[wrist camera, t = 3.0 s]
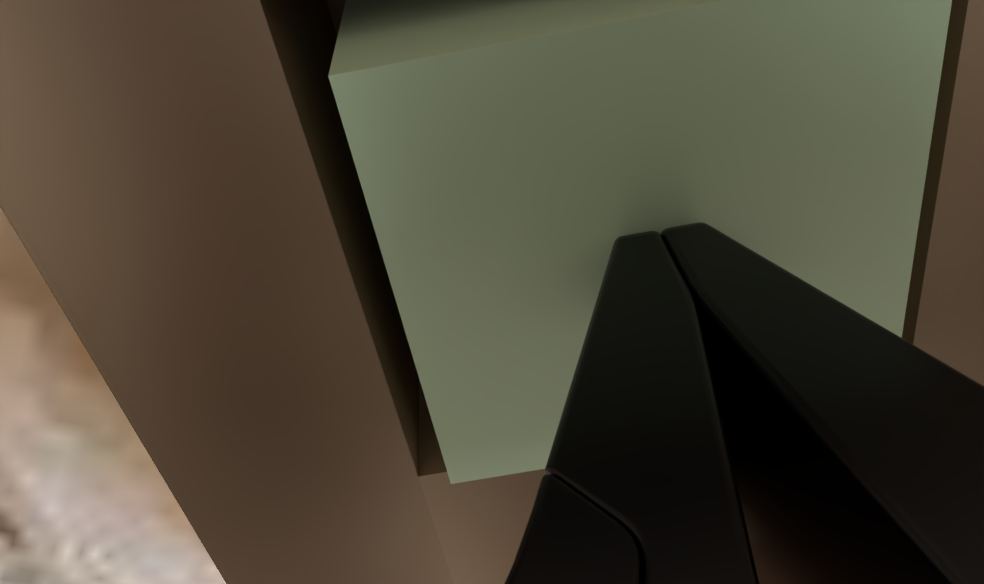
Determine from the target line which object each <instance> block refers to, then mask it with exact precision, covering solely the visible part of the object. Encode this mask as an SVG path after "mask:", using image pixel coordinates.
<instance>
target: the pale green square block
mask: <svg viewBox="0 0 984 584" xmlns="http://www.w3.org/2000/svg"><path fill="white" fill-rule="evenodd" d="M951 5H952V0H346V2H345V6H344V10H343V15H342V19H341V23H340V28H339V32H338V36H337V40H336V45H335V49H334V53H333V58H332V62H331V66H330V71H329V75H328V77H329V80H330V84H331V87H332V90H333V94H334V97H335V100H336V104H337V107H338V110H339V114H340V117H341V120H342V124H343V127H344V130H345V134H346V137H347V140H348V144H349V147H350V150H351V153H352V157H353V160H354V163H355V167H356V170H357V173H358V177H359V180H360V183H361V187H362V190H363V193H364V197H365V200H366V203H367V207H368V210H369V213H370V217H371V220H372V223H373V227H374V230H375V233H376V237H377V240H378V243H379V247H380V250H381V253H382V257H383V260H384V263H385V267H386V270H387V273H388V277H389V280H390V283H391V287H392V290H393V293H394V296H395V300H396V303H397V306H398V310H399V313H400V316H401V320H402V323H403V326H404V330H405V333H406V336H407V340H408V343H409V346H410V350H411V353H412V356H413V360H414V363H415V366H416V370H417V373H418V376H419V380H420V383H421V386H422V390H423V393H424V396H425V400H426V403H427V406H428V410H429V413H430V416H431V420H432V423H433V426H434V430H435V433H436V436H437V439H438V443H439V446H440V449H441V453H442V456H443V459H444V463H445V466H446V469H447V473H448V476H449V479H450V483H451V484H455V483H461V482H467V481H473V480H479V479H485V478H491V477H498V476H504V475H510V474H516V473H522V472H528V471H534V470H540V469H545V467H546V464H547V461H548V458H549V454H550V451H551V448H552V444H553V441H554V438H555V435H556V431H557V428H558V425H559V421H560V418H561V415H562V412H563V408H564V405H565V402H566V398H567V395H568V392H569V389H570V385H571V382H572V379H573V375H574V372H575V369H576V366H577V362H578V359H579V356H580V352H581V349H582V346H583V343H584V339H585V336H586V333H587V329H588V326H589V323H590V320H591V316H592V313H593V310H594V306H595V303H596V300H597V297H598V293H599V290H600V287H601V283H602V280H603V277H604V274H605V270H606V267H607V264H608V260H609V257H610V254H611V251H612V247H613V244H614V242H615V240H616V239H617V238H618V237H620V236H625V235H630V234H636V233H642V232H648V231H656V232H658V233H659V234H660V235H661V233H662V231H663V230H664V229H666V228H670V227H676V226H681V225H687V224H692V223H698V222H702V223H706V224H708V225H710V226H712V227H713V228H715V229H717V230H719V231H720V232H722V233H724V234H725V235H727V236H729V237H730V238H732V239H734V240H736V241H737V242H739V243H741V244H742V245H744V246H746V247H747V248H749V249H751V250H753V251H754V252H756V253H758V254H759V255H761V256H763V257H765V258H766V259H768V260H770V261H771V262H773V263H775V264H776V265H778V266H780V267H782V268H783V269H785V270H787V271H788V272H790V273H792V274H793V275H795V276H797V277H799V278H800V279H802V280H804V281H805V282H807V283H809V284H811V285H812V286H814V287H816V288H817V289H819V290H821V291H822V292H824V293H826V294H828V295H829V296H831V297H833V298H834V299H836V300H838V301H840V302H841V303H843V304H845V305H846V306H848V307H850V308H851V309H853V310H855V311H857V312H858V313H860V314H862V315H863V316H865V317H867V318H868V319H870V320H872V321H874V322H875V323H877V324H879V325H880V326H882V327H884V328H886V329H887V330H889V331H891V332H892V333H894V334H896V335H897V336H899V337H901V338H902V332H903V325H904V319H905V312H906V305H907V299H908V292H909V285H910V279H911V272H912V265H913V258H914V252H915V245H916V238H917V232H918V225H919V218H920V212H921V205H922V198H923V192H924V185H925V178H926V172H927V165H928V158H929V152H930V145H931V138H932V132H933V125H934V118H935V111H936V105H937V98H938V91H939V85H940V78H941V71H942V65H943V58H944V51H945V45H946V38H947V31H948V25H949V18H950V11H951Z"/></svg>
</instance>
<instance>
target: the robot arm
mask: <svg viewBox="0 0 984 584" xmlns="http://www.w3.org/2000/svg"><path fill="white" fill-rule="evenodd" d="M505 584H984V386H983V385H981V384H979V383H978V382H976V381H974V380H972V379H971V378H969V377H967V376H966V375H964V374H962V373H961V372H959V371H957V370H955V369H954V368H952V367H950V366H949V365H947V364H945V363H943V362H942V361H940V360H938V359H937V358H935V357H933V356H932V355H930V354H928V353H926V352H925V351H923V350H921V349H920V348H918V347H916V346H915V345H913V344H911V343H909V342H908V341H906V340H904V339H903V338H901V337H899V336H897V335H896V334H894V333H892V332H891V331H889V330H887V329H886V328H884V327H882V326H880V325H879V324H877V323H875V322H874V321H872V320H870V319H868V318H867V317H865V316H863V315H862V314H860V313H858V312H857V311H855V310H853V309H851V308H850V307H848V306H846V305H845V304H843V303H841V302H840V301H838V300H836V299H834V298H833V297H831V296H829V295H828V294H826V293H824V292H822V291H821V290H819V289H817V288H816V287H814V286H812V285H811V284H809V283H807V282H805V281H804V280H802V279H800V278H799V277H797V276H795V275H793V274H792V273H790V272H788V271H787V270H785V269H783V268H782V267H780V266H778V265H776V264H775V263H773V262H771V261H770V260H768V259H766V258H765V257H763V256H761V255H759V254H758V253H756V252H754V251H753V250H751V249H749V248H747V247H746V246H744V245H742V244H741V243H739V242H737V241H736V240H734V239H732V238H730V237H729V236H727V235H725V234H724V233H722V232H720V231H719V230H717V229H715V228H713V227H712V226H710V225H708V224H706V223H702V222H698V223H692V224H687V225H681V226H676V227H670V228H666V229H664V230H663V231H662V233H661V235H660V234H659V233H658V232H656V231H648V232H642V233H636V234H630V235H625V236H620V237H618V238H617V239H616V240H615V242H614V244H613V247H612V251H611V254H610V257H609V260H608V264H607V267H606V270H605V274H604V277H603V280H602V283H601V287H600V290H599V293H598V297H597V300H596V303H595V306H594V310H593V313H592V316H591V320H590V323H589V326H588V329H587V333H586V336H585V339H584V343H583V346H582V349H581V352H580V356H579V359H578V362H577V366H576V369H575V372H574V375H573V379H572V382H571V385H570V389H569V392H568V395H567V398H566V402H565V405H564V408H563V412H562V415H561V418H560V421H559V425H558V428H557V431H556V435H555V438H554V441H553V444H552V448H551V451H550V454H549V458H548V461H547V464H546V467H545V475H544V476H543V477H542V479H541V482H540V485H539V489H538V492H537V495H536V498H535V502H534V505H533V508H532V512H531V514H530V517H529V520H528V523H527V526H526V529H525V531H524V534H523V537H522V540H521V543H520V546H519V549H518V551H517V554H516V557H515V560H514V563H513V565H512V567H511V570H510V572H509V574H508V577H507V579H506V581H505Z"/></svg>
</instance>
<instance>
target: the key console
mask: <svg viewBox="0 0 984 584" xmlns="http://www.w3.org/2000/svg"><path fill="white" fill-rule="evenodd" d="M345 2H346V0H0V206H1V208H2V210H3V211H4V213H5V215H6V216H7V218H8V220H9V221H10V223H11V225H12V226H13V228H14V230H15V231H16V233H17V235H18V236H19V238H20V240H21V241H22V243H23V245H24V246H25V248H26V250H27V251H28V253H29V255H30V256H31V258H32V260H33V261H34V263H35V265H36V266H37V268H38V270H39V271H40V273H41V275H42V276H43V278H44V280H45V281H46V283H47V285H48V286H49V288H50V290H51V291H52V293H53V295H54V296H55V298H56V300H57V301H58V303H59V305H60V306H61V308H62V310H63V311H64V313H65V315H66V316H67V318H68V320H69V321H70V323H71V325H72V326H73V328H74V330H75V332H76V333H77V335H78V337H79V338H80V340H81V342H82V343H83V345H84V347H85V348H86V350H87V352H88V353H89V355H90V357H91V358H92V360H93V362H94V363H95V365H96V367H97V368H98V370H99V372H100V373H101V375H102V377H103V378H104V380H105V382H106V383H107V385H108V387H109V388H110V390H111V392H112V393H113V395H114V397H115V398H116V400H117V402H118V403H119V405H120V407H121V408H122V410H123V412H124V413H125V415H126V417H127V418H128V420H129V422H130V423H131V425H132V427H133V428H134V430H135V432H136V433H137V435H138V437H139V438H140V440H141V442H142V443H143V445H144V447H145V448H146V450H147V452H148V453H149V455H150V457H151V458H152V460H153V462H154V463H155V465H156V467H157V468H158V470H159V472H160V473H161V475H162V477H163V478H164V480H165V482H166V483H167V485H168V487H169V488H170V490H171V492H172V493H173V495H174V497H175V498H176V500H177V502H178V503H179V505H180V507H181V508H182V510H183V512H184V513H185V515H186V517H187V518H188V520H189V522H190V524H191V525H192V527H193V529H194V530H195V532H196V534H197V535H198V537H199V539H200V540H201V542H202V544H203V545H204V547H205V549H206V550H207V552H208V554H209V555H210V557H211V559H212V560H213V562H214V564H215V565H216V567H217V569H218V570H219V572H220V574H221V575H222V577H223V579H224V580H225V582H226V584H505V581H506V579H507V577H508V574H509V572H510V570H511V567H512V565H513V563H514V560H515V557H516V554H517V551H518V549H519V546H520V543H521V540H522V537H523V534H524V531H525V529H526V526H527V523H528V520H529V517H530V514H531V512H532V508H533V505H534V502H535V498H536V495H537V492H538V489H539V485H540V482H541V479H542V477H543V476H544V475H545V469H540V470H534V471H528V472H522V473H516V474H510V475H504V476H498V477H491V478H485V479H479V480H473V481H467V482H461V483H455V484H451V483H450V479H449V476H448V473H447V469H446V466H445V463H444V459H443V456H442V453H441V449H440V446H439V443H438V439H437V436H436V433H435V430H434V426H433V423H432V420H431V416H430V413H429V410H428V406H427V403H426V400H425V396H424V393H423V390H422V386H421V383H420V380H419V376H418V373H417V370H416V366H415V363H414V360H413V356H412V353H411V350H410V346H409V343H408V340H407V336H406V333H405V330H404V326H403V323H402V320H401V316H400V313H399V310H398V306H397V303H396V300H395V296H394V293H393V290H392V287H391V283H390V280H389V277H388V273H387V270H386V267H385V263H384V260H383V257H382V253H381V250H380V247H379V243H378V240H377V237H376V233H375V230H374V227H373V223H372V220H371V217H370V213H369V210H368V207H367V203H366V200H365V197H364V193H363V190H362V187H361V183H360V180H359V177H358V173H357V170H356V167H355V163H354V160H353V157H352V153H351V150H350V147H349V144H348V140H347V137H346V134H345V130H344V127H343V124H342V120H341V117H340V114H339V110H338V107H337V104H336V100H335V97H334V94H333V90H332V87H331V84H330V80H329V77H328V75H329V71H330V66H331V62H332V58H333V53H334V49H335V45H336V40H337V36H338V32H339V28H340V23H341V19H342V15H343V10H344V6H345ZM902 338H903V339H904V340H906V341H908V342H909V343H911V344H913V345H915V346H916V347H918V348H920V349H921V350H923V351H925V352H926V353H928V354H930V355H932V356H933V357H935V358H937V359H938V360H940V361H942V362H943V363H945V364H947V365H949V366H950V367H952V368H954V369H955V370H957V371H959V372H961V373H962V374H964V375H966V376H967V377H969V378H971V379H972V380H974V381H976V382H978V383H979V384H981V385H983V386H984V0H952V5H951V11H950V18H949V25H948V31H947V38H946V45H945V51H944V58H943V65H942V71H941V78H940V85H939V91H938V98H937V105H936V111H935V118H934V125H933V132H932V138H931V145H930V152H929V158H928V165H927V172H926V178H925V185H924V192H923V198H922V205H921V212H920V218H919V225H918V232H917V238H916V245H915V252H914V258H913V265H912V272H911V279H910V285H909V292H908V299H907V305H906V312H905V319H904V325H903V332H902Z"/></svg>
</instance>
